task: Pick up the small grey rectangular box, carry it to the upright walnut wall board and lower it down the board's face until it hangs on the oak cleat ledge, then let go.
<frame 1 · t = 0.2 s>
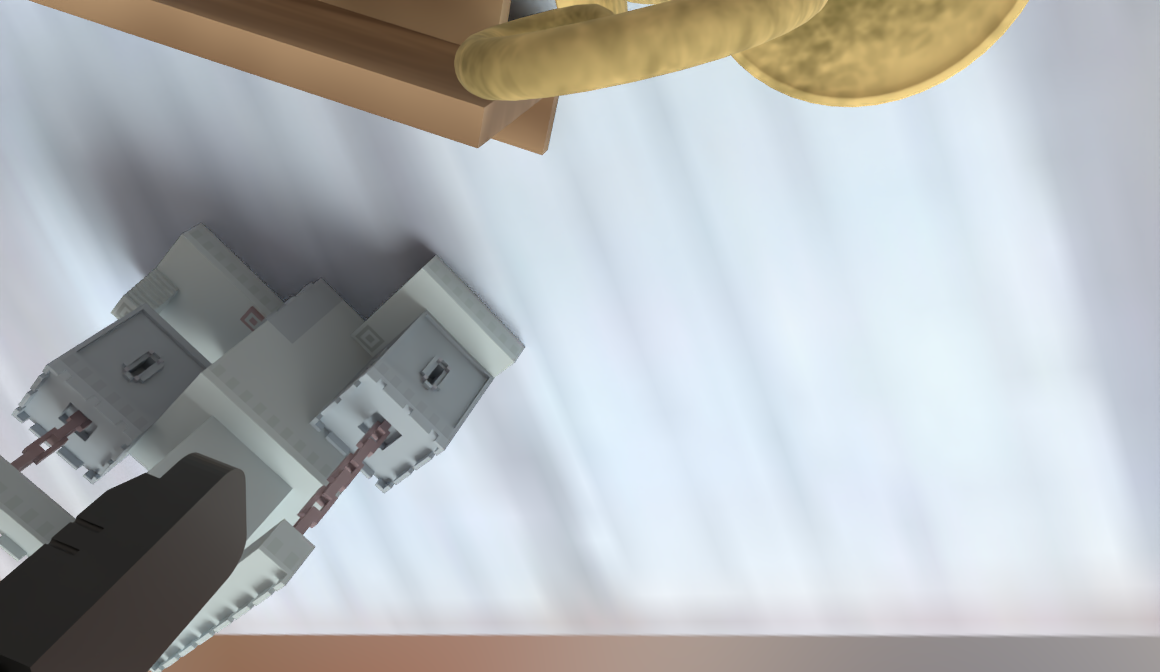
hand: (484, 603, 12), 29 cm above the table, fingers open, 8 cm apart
castle model: (329, 313, 48), on the table
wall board: (364, 4, 38), on the table
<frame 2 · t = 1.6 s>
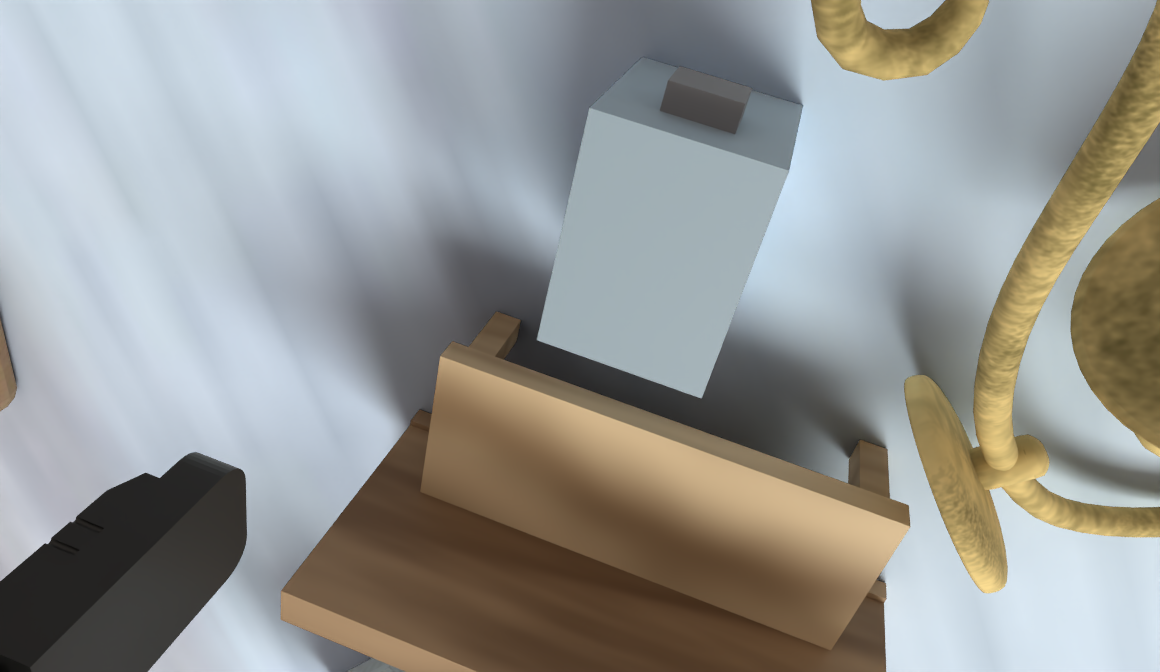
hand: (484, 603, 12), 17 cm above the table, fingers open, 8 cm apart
grey rectangular box: (688, 186, 26), on the table
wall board: (637, 510, 34), on the table
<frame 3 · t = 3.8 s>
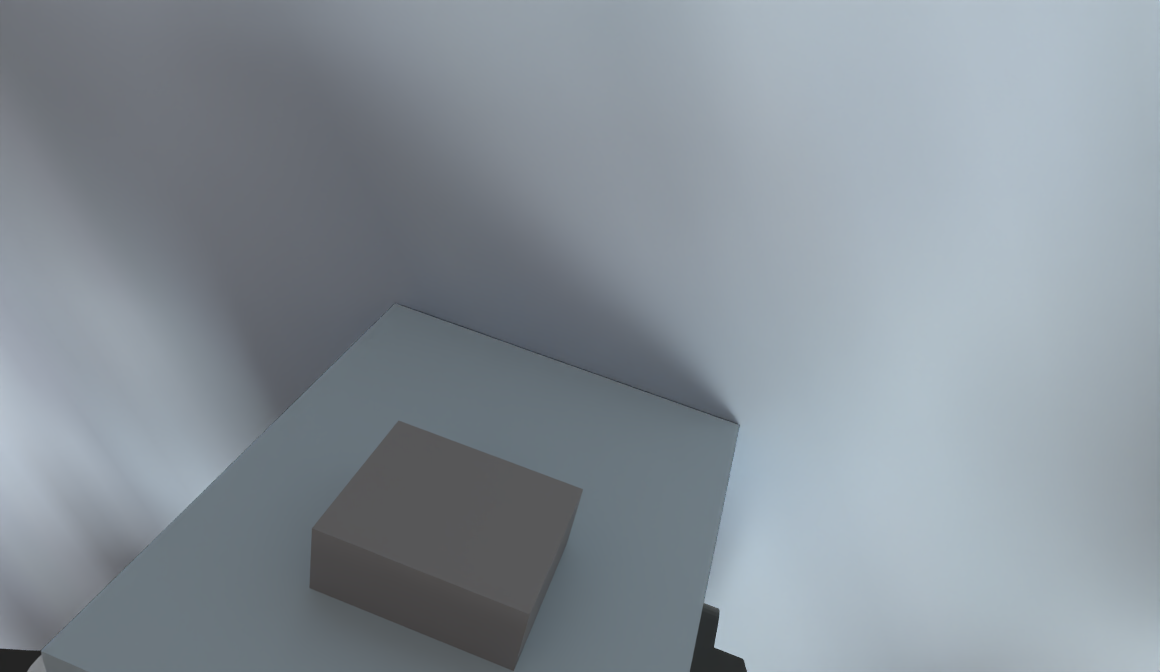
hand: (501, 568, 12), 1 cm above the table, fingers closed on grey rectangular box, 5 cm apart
grey rectangular box: (519, 536, 13), on the table, touching gripper
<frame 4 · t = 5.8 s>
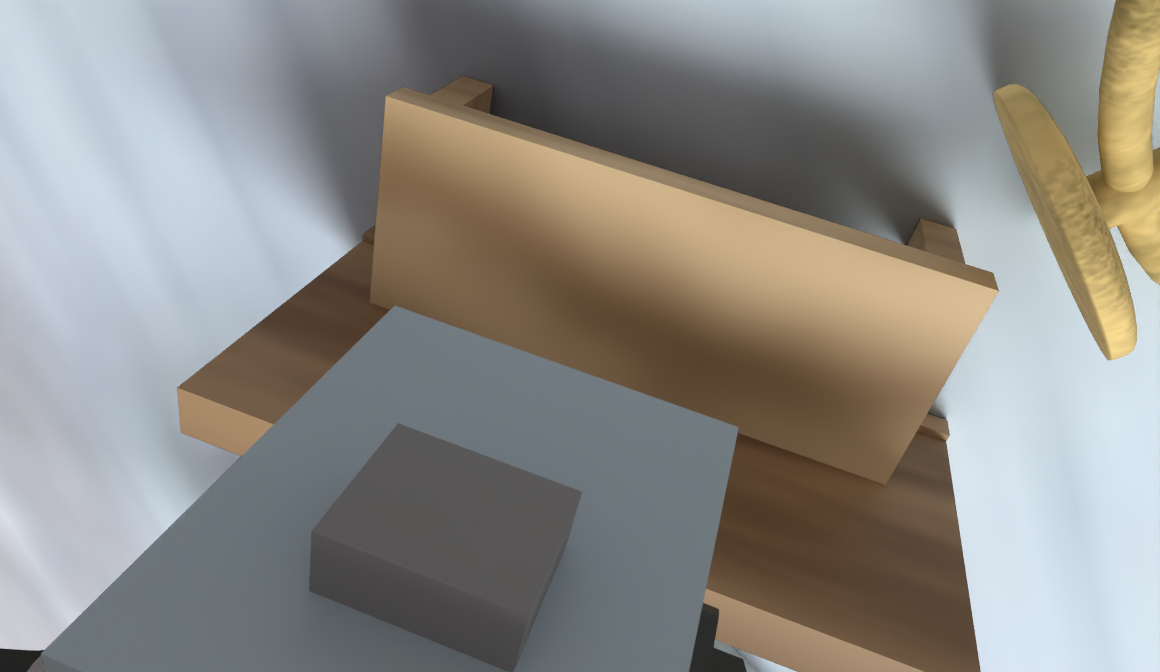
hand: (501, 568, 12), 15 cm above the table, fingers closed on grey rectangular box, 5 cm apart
castle model: (532, 645, 38), on the table
grey rectangular box: (518, 537, 13), point 14 cm above the table, touching gripper
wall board: (640, 342, 28), on the table
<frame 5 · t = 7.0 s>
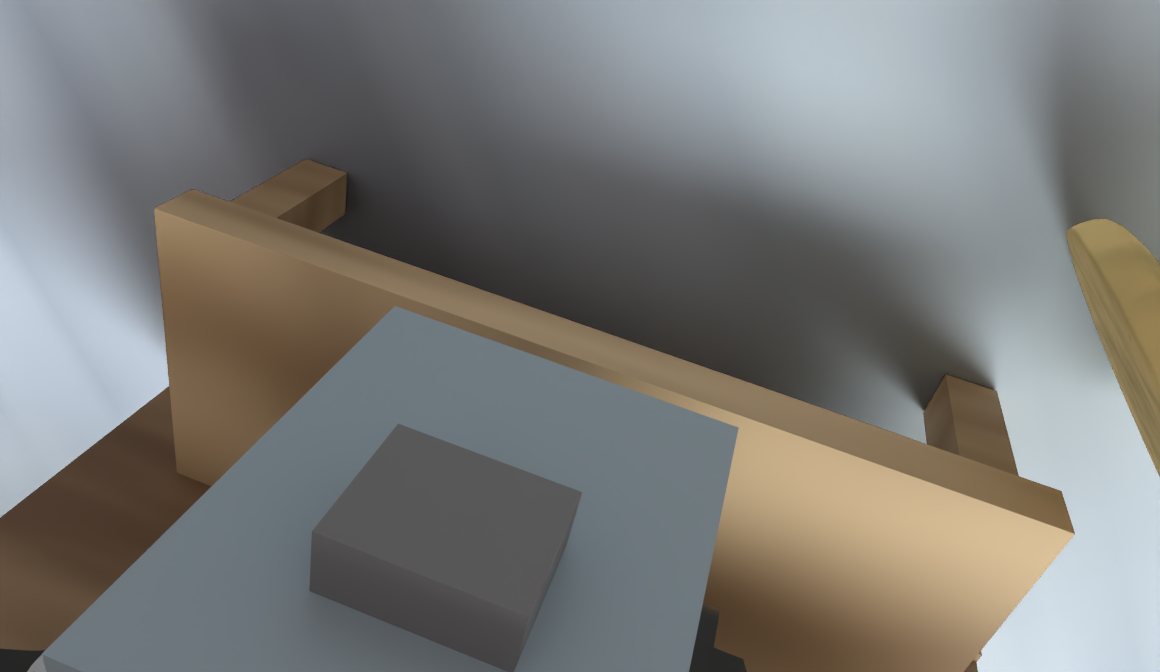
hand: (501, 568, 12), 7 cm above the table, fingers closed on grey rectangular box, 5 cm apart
grey rectangular box: (518, 538, 13), point 6 cm above the table, touching gripper
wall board: (564, 504, 21), on the table
when the fingers open (5 cm above the table, at t = 8.1 s): grey rectangular box stays where it is, resting on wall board.
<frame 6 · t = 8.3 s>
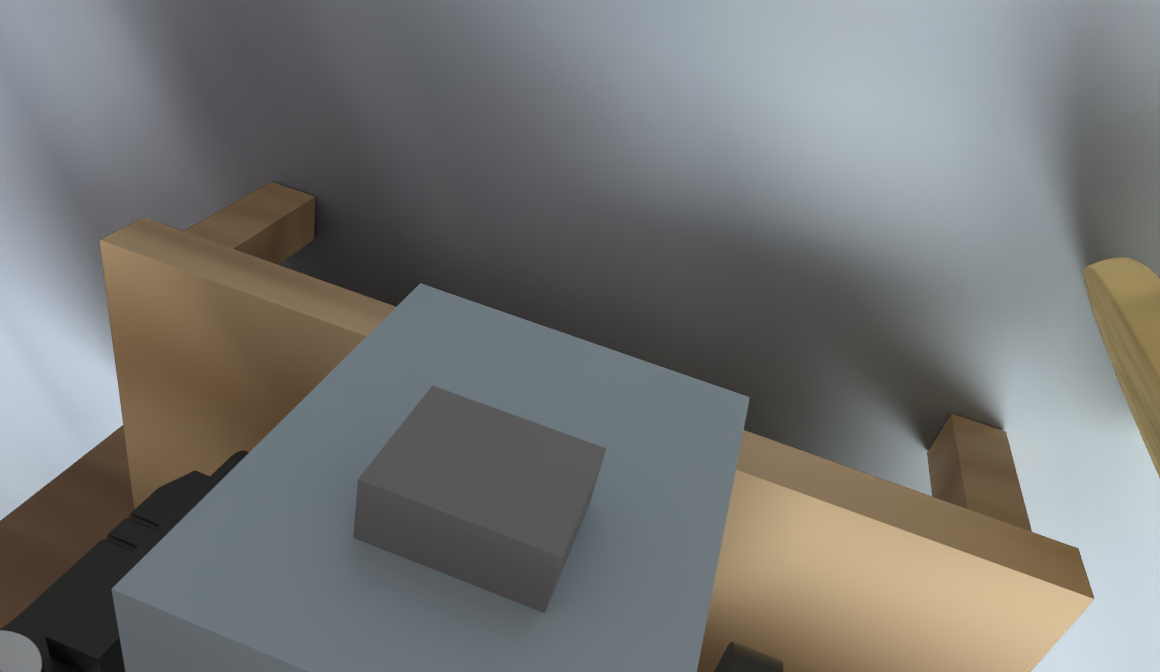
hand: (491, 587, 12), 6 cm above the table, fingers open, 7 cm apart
grey rectangular box: (536, 509, 14), point 4 cm above the table, touching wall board
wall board: (548, 542, 20), on the table
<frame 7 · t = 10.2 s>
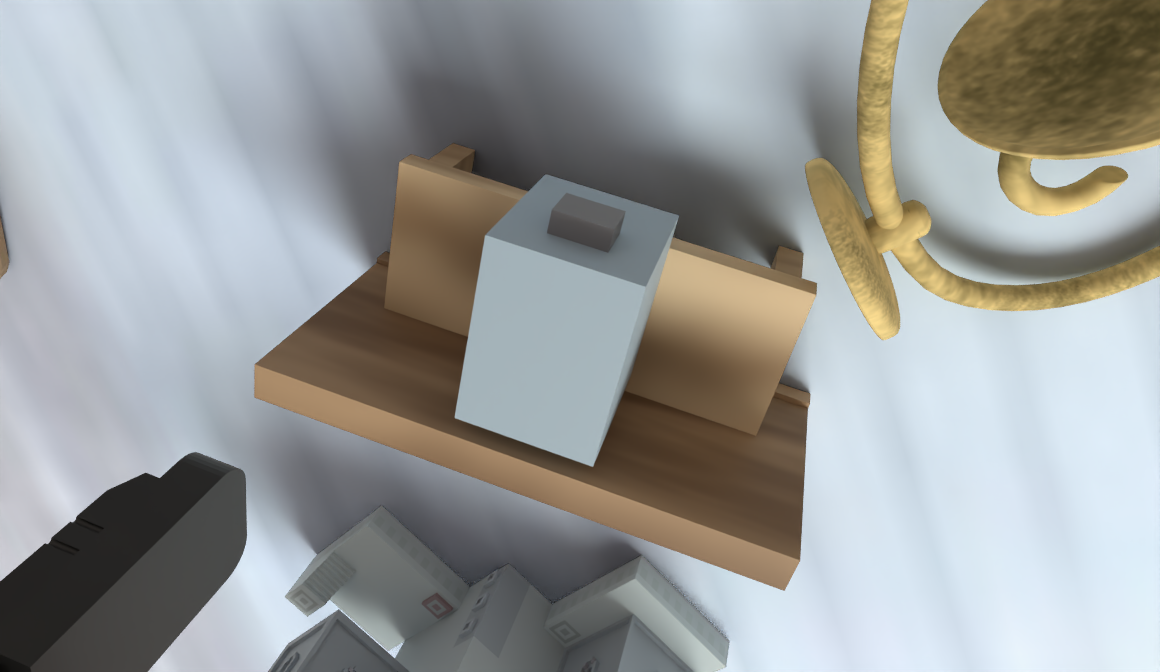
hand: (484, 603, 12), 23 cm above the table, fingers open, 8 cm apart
castle model: (512, 592, 46), on the table
grey rectangular box: (590, 279, 31), point 4 cm above the table, touching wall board
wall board: (586, 338, 37), on the table
wall sconce: (1105, 297, 30), point 1 cm above the table
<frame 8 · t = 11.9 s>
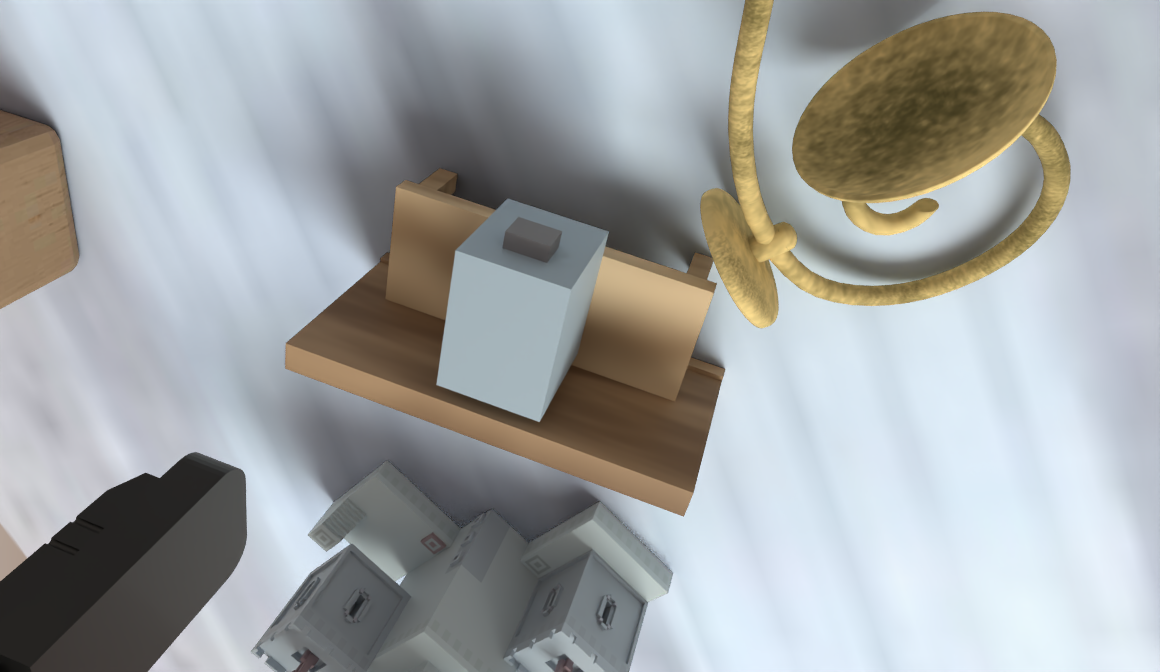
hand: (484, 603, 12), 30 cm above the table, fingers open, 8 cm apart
castle model: (495, 533, 56), on the table
grey rectangular box: (544, 279, 40), point 4 cm above the table, touching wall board
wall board: (548, 323, 46), on the table
wall sconce: (940, 295, 38), point 1 cm above the table
block: (12, 176, 52), on the table
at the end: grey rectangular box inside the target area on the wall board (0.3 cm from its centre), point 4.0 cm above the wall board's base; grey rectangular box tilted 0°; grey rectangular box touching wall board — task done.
